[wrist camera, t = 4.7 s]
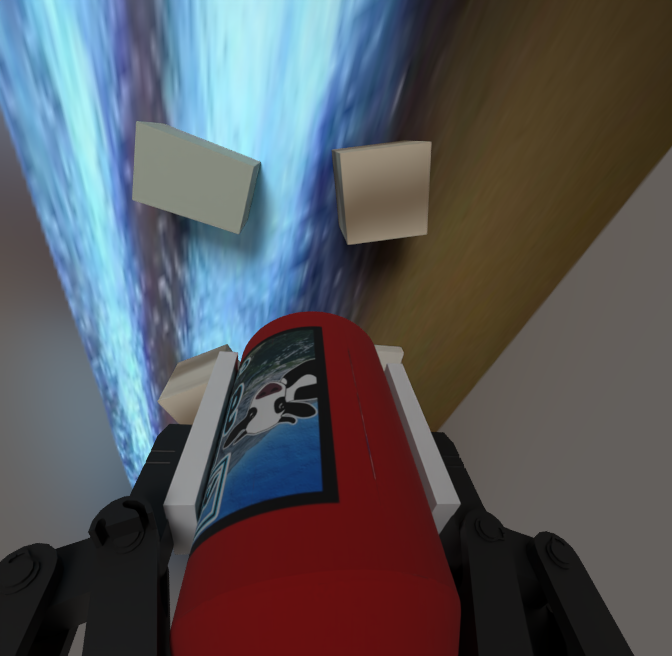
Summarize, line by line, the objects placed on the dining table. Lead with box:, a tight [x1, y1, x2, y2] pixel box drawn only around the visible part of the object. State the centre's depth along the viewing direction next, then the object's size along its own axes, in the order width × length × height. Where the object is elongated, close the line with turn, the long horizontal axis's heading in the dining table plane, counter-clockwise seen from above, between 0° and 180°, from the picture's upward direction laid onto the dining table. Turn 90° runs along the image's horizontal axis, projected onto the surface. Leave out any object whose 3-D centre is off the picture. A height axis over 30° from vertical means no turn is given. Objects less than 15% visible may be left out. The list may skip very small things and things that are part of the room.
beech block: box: [332, 141, 431, 245], centre depth 20 cm, size 5×5×5 cm
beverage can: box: [169, 312, 461, 656], centre depth 11 cm, size 7×7×12 cm
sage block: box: [132, 121, 261, 234], centre depth 19 cm, size 4×6×4 cm, turn 70°
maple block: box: [158, 344, 240, 425], centre depth 27 cm, size 5×5×5 cm
